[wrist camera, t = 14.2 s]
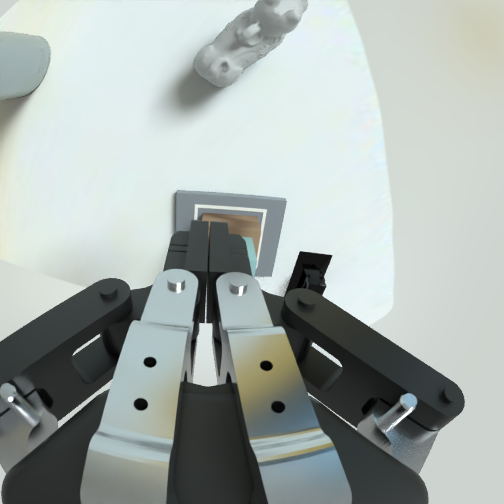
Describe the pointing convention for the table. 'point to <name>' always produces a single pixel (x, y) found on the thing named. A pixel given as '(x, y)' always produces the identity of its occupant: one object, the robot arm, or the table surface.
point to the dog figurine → (248, 39)
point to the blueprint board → (263, 207)
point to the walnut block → (238, 226)
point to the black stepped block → (309, 272)
